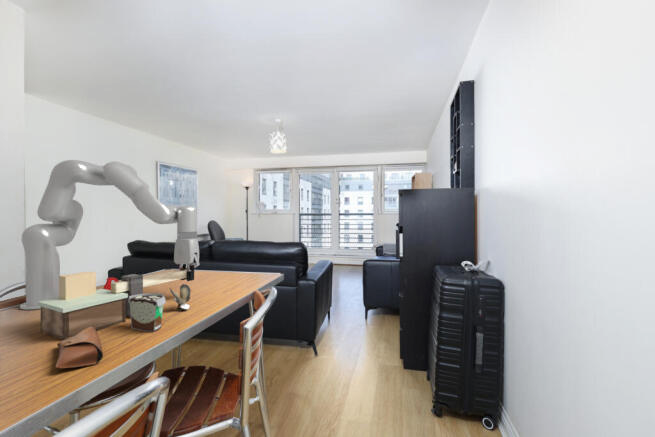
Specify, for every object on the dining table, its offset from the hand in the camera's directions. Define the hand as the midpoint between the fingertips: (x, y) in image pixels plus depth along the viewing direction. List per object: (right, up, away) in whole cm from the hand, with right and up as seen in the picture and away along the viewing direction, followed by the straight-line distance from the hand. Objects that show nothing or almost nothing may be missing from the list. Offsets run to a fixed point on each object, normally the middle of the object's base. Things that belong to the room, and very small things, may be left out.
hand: (187, 279), depth 121 cm
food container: (+3, -9, -30) cm, 31 cm away
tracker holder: (-28, -8, -3) cm, 29 cm away
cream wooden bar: (-6, +1, -12) cm, 13 cm away
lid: (-18, -1, -30) cm, 35 cm away
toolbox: (-16, -8, -27) cm, 33 cm away
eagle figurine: (+4, -9, -14) cm, 17 cm away
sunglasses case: (-5, -10, -49) cm, 51 cm away
